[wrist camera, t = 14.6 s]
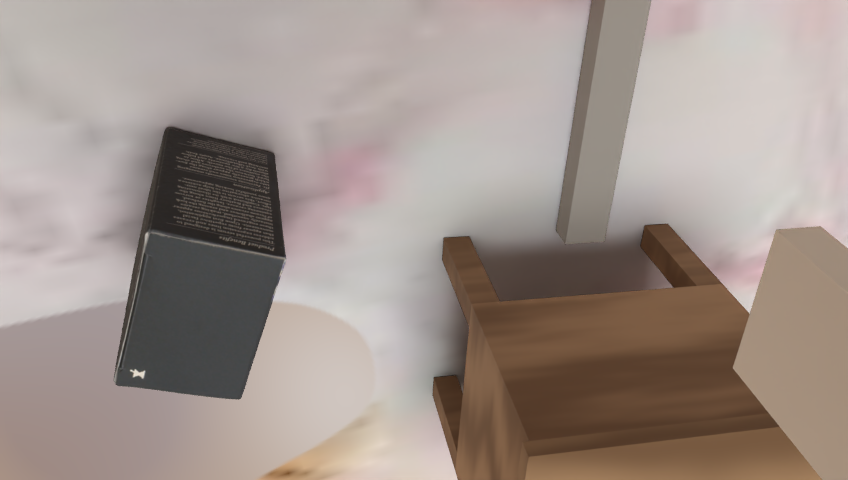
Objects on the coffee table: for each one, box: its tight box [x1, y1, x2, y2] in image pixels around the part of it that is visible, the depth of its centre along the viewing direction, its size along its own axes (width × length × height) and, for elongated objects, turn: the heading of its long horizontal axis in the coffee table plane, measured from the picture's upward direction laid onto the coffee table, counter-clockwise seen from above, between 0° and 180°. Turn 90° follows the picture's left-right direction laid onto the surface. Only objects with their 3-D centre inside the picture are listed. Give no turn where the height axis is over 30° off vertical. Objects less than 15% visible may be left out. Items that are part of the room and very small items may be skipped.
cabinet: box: [433, 224, 822, 480], centre depth 43 cm, size 13×15×17 cm
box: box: [114, 128, 286, 399], centre depth 37 cm, size 8×6×11 cm
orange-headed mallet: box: [556, 0, 651, 244], centre depth 37 cm, size 22×4×10 cm, turn 177°
